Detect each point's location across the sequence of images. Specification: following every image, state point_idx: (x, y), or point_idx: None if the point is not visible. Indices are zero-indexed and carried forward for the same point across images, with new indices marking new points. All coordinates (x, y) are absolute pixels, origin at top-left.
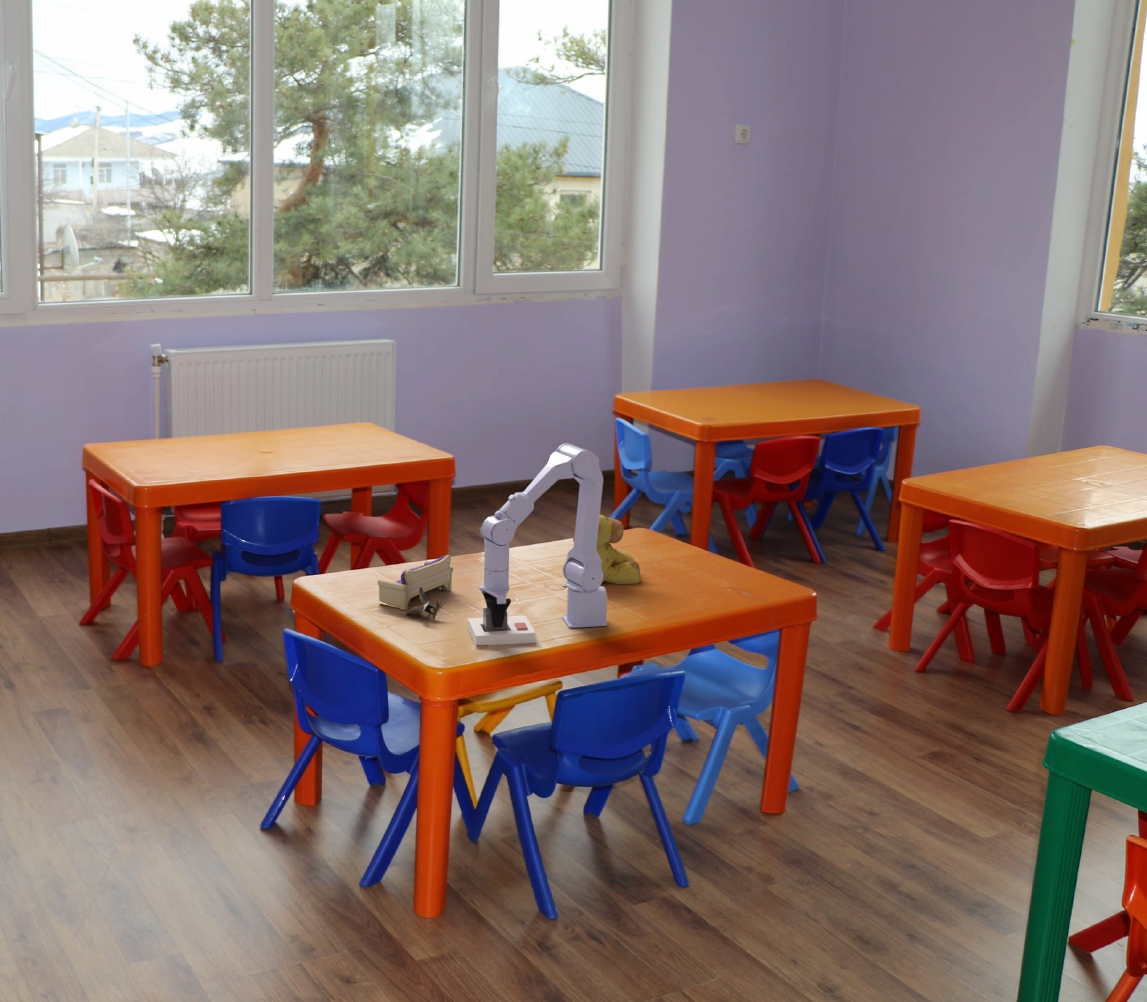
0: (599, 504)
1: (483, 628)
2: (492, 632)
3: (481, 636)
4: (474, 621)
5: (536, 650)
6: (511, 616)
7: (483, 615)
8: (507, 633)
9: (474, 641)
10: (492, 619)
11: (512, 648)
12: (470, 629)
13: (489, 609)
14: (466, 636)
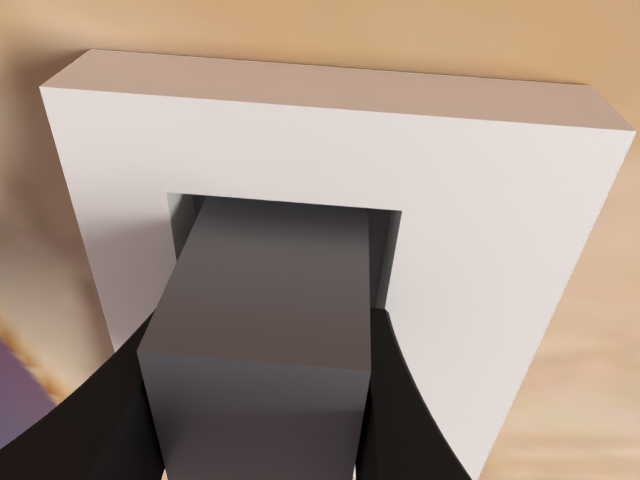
0: None
1: (341, 210)
2: (148, 253)
3: (62, 140)
4: (502, 177)
5: (45, 378)
6: (492, 434)
7: (346, 301)
8: (126, 338)
9: (163, 60)
10: (122, 348)
11: (65, 286)
12: (417, 92)
13: (304, 410)
14: (376, 20)
